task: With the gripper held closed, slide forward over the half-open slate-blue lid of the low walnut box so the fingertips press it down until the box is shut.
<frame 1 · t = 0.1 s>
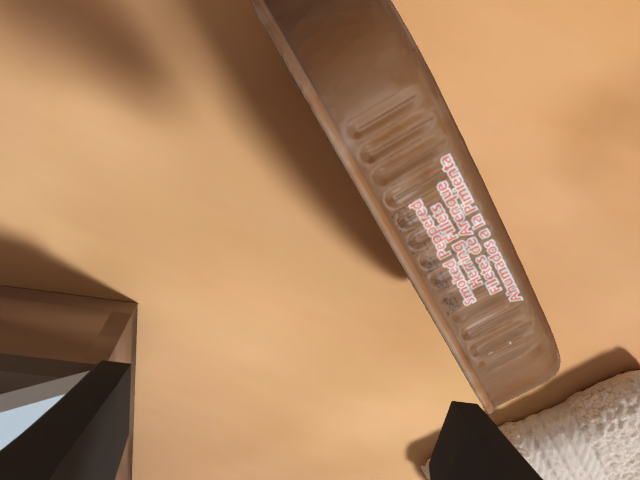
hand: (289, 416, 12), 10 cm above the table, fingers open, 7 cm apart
tin: (389, 152, 20), on the table
box: (0, 413, 25), on the table
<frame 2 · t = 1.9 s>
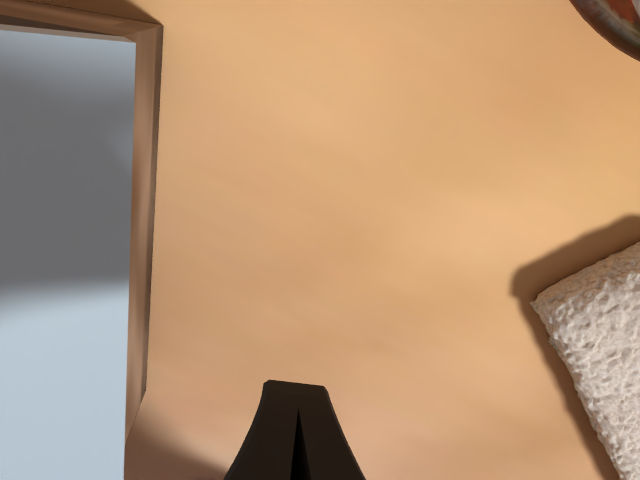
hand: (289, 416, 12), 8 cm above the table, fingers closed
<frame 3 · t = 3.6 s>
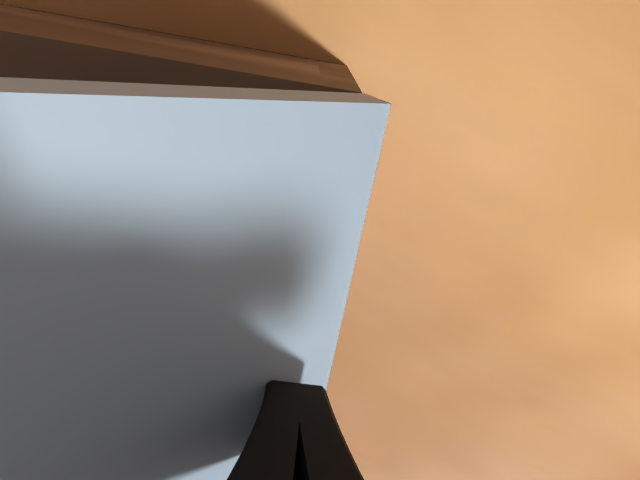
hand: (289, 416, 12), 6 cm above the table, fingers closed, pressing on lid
lid: (54, 479, 10), point 8 cm above the table, hinge at 35.0°, touching gripper
box: (114, 263, 16), on the table
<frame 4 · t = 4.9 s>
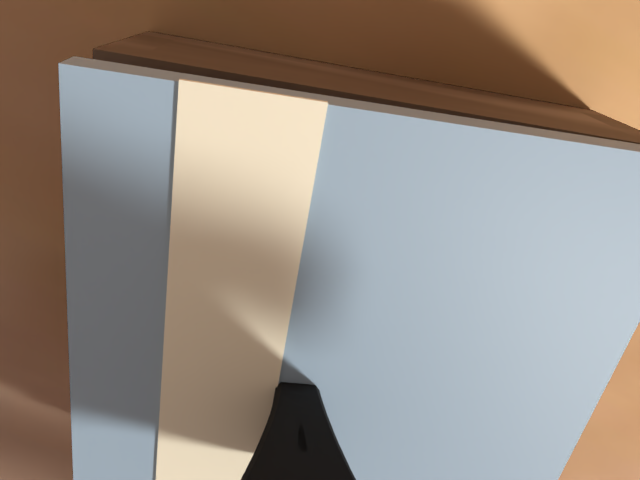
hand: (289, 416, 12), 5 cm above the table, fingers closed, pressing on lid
lid: (347, 410, 12), point 5 cm above the table, hinge at 4.7°, touching gripper
box: (332, 297, 17), on the table
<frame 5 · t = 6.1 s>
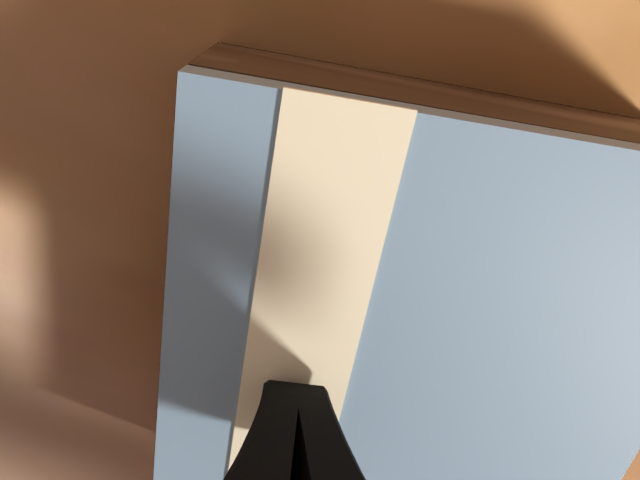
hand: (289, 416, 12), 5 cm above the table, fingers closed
lid: (412, 405, 13), point 5 cm above the table, hinge at 0.7°
box: (385, 304, 17), on the table
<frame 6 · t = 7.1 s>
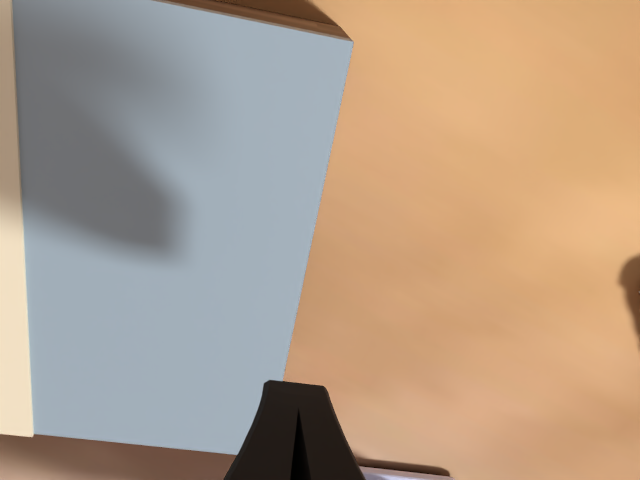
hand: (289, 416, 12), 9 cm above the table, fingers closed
lid: (95, 253, 15), point 5 cm above the table, hinge at 0.7°
box: (139, 195, 19), on the table
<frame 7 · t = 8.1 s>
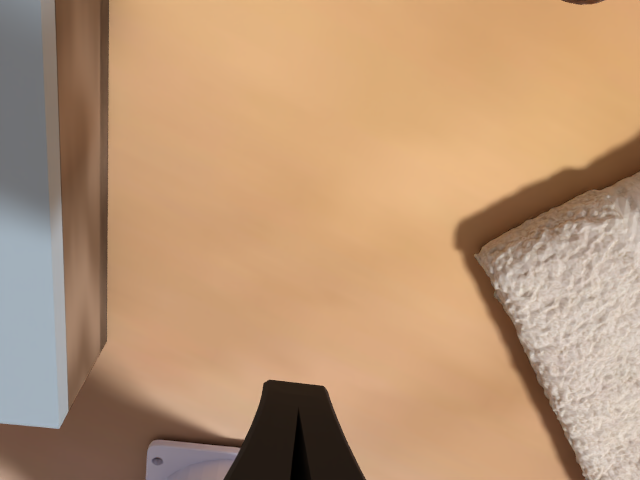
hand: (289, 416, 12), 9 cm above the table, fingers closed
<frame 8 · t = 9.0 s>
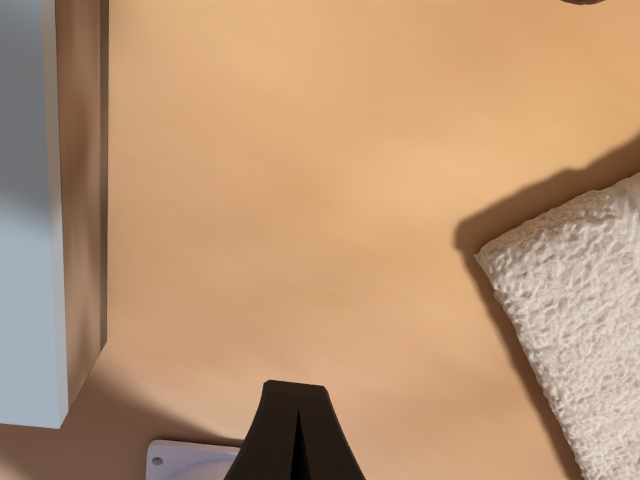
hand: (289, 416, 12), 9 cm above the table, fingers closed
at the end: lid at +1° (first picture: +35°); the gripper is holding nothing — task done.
